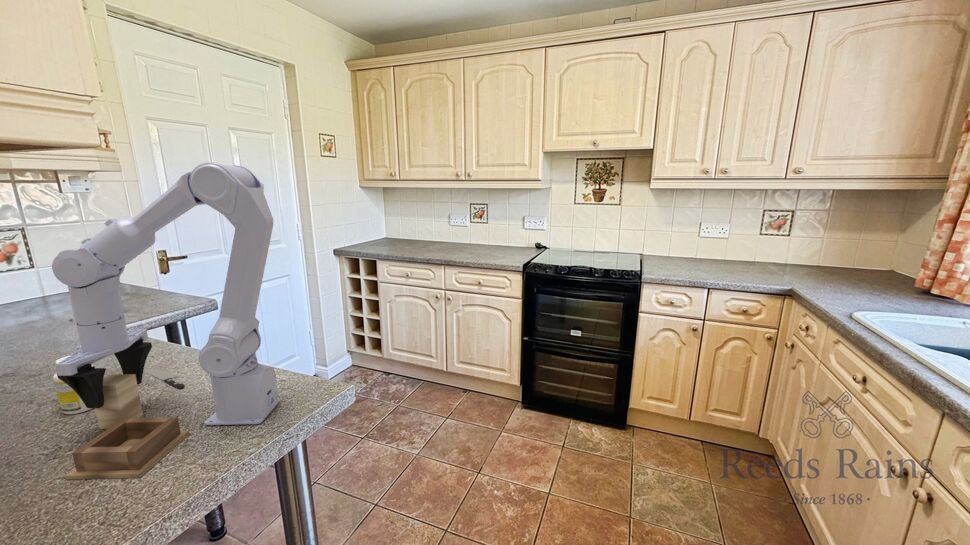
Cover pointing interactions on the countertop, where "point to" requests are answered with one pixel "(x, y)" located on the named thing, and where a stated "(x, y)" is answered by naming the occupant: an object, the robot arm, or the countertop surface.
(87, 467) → the wooden peg socket
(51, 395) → the countertop surface
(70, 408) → the supplement bottle
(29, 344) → the countertop surface
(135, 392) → the peg
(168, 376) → the chef's knife
